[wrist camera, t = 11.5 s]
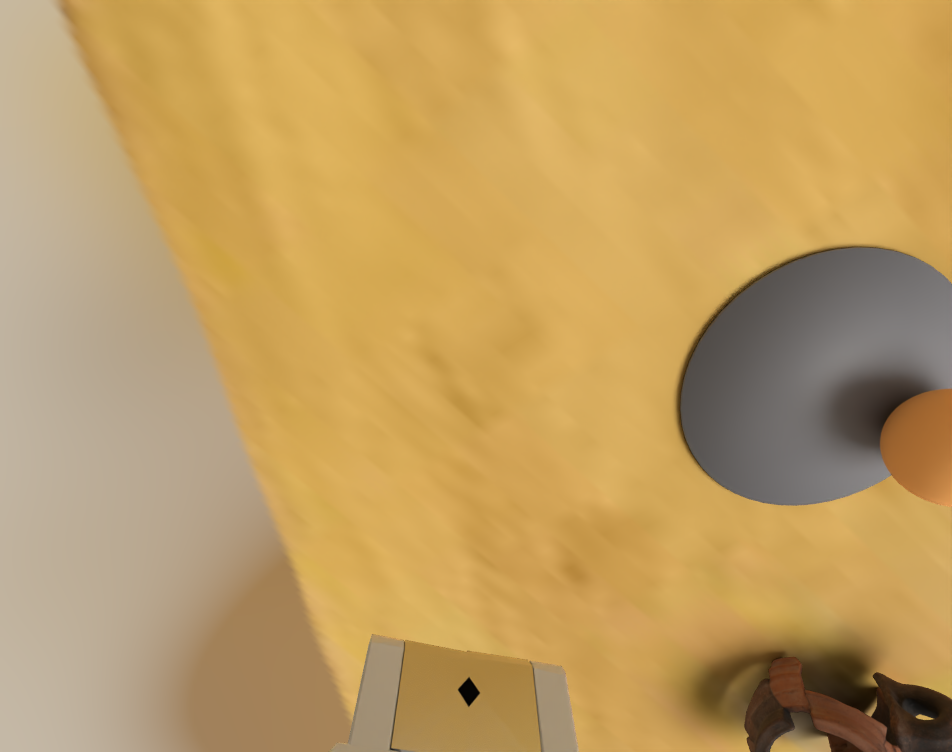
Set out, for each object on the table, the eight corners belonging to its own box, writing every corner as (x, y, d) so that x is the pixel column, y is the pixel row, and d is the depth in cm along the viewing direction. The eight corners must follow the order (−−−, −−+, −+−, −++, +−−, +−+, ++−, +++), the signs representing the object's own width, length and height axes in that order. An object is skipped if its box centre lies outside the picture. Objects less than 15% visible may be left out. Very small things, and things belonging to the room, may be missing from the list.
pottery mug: (797, 753, 40) (798, 861, 33) (719, 638, 41) (705, 718, 34) (989, 720, 34) (1041, 843, 27) (892, 585, 35) (918, 670, 28)
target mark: (749, 215, 24) (752, 215, 24) (1032, 285, 26) (1036, 286, 25) (641, 476, 30) (642, 478, 30) (877, 523, 31) (880, 526, 31)
